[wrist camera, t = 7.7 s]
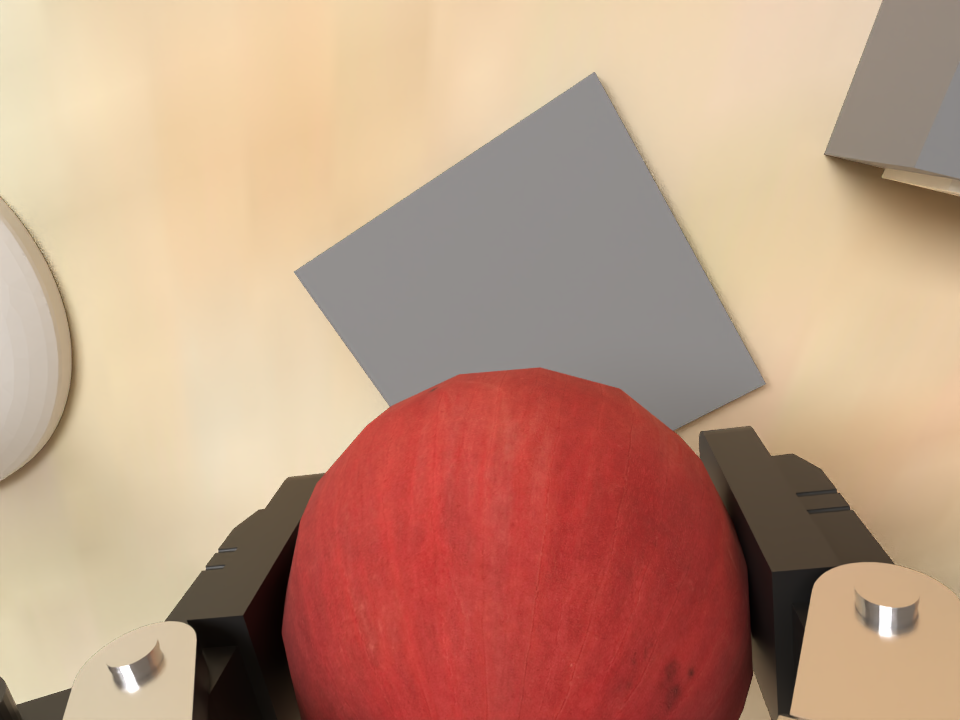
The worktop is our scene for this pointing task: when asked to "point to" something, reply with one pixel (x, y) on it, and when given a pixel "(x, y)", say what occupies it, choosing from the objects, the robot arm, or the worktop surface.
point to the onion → (518, 564)
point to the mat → (537, 273)
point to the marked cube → (907, 97)
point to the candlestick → (29, 347)
